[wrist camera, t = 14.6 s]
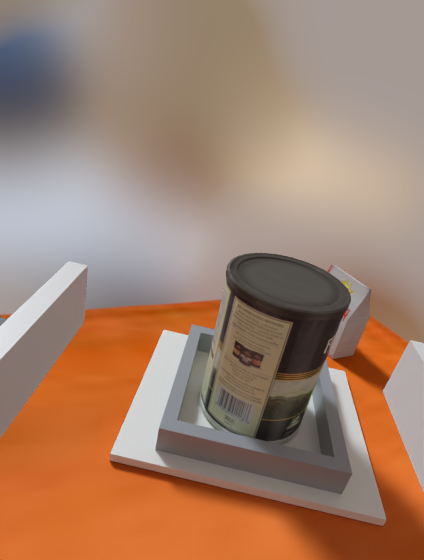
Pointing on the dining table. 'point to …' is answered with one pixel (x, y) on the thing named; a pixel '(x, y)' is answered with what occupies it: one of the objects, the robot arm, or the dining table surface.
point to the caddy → (248, 438)
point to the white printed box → (350, 316)
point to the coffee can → (270, 344)
